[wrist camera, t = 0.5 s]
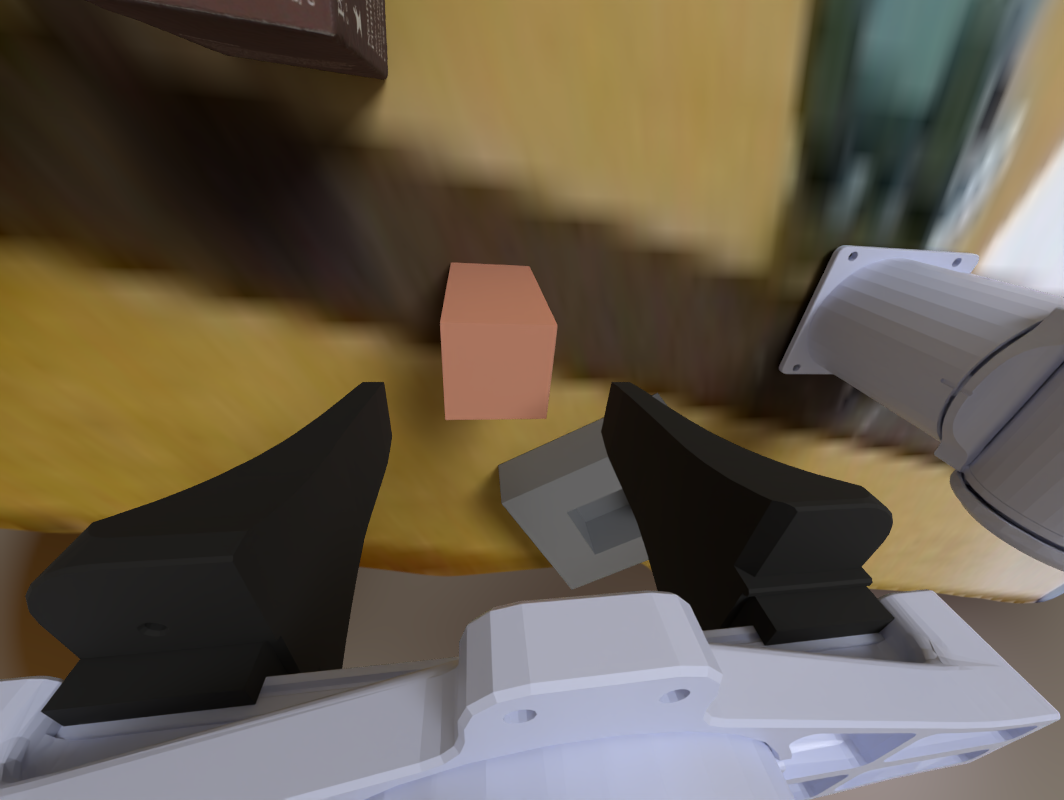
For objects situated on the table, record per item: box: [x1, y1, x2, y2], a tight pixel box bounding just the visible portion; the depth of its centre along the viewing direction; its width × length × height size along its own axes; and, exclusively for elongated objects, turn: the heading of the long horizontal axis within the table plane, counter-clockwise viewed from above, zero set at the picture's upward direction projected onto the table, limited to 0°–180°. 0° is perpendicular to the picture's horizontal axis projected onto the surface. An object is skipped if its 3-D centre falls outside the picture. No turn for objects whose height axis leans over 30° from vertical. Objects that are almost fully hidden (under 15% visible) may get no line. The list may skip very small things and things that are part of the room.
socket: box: [498, 393, 667, 589], centre depth 28 cm, size 12×12×4 cm
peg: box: [440, 263, 557, 420], centre depth 18 cm, size 4×4×8 cm
